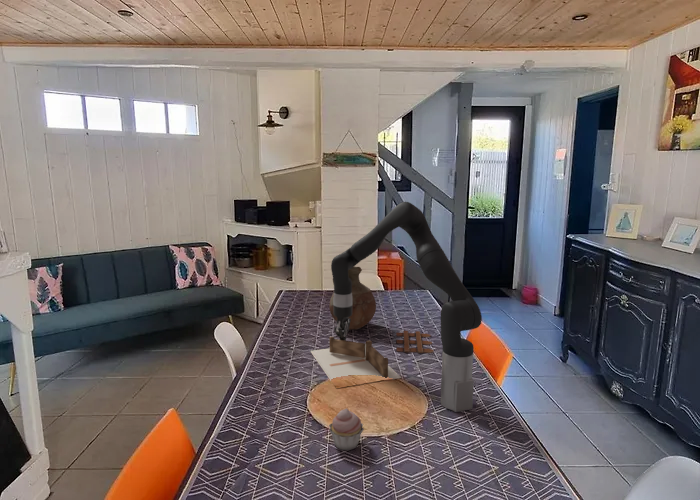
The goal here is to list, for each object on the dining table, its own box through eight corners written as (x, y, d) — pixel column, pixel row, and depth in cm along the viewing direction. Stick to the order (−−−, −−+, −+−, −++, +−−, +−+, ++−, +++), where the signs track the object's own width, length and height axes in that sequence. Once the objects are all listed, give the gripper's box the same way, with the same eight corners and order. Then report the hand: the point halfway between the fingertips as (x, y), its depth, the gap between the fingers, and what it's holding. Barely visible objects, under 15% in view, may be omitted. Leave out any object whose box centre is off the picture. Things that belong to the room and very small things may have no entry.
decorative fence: (396, 354, 180) (434, 356, 179) (396, 350, 180) (434, 351, 178) (396, 334, 203) (429, 335, 201) (396, 330, 202) (429, 331, 201)
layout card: (401, 377, 158) (401, 377, 158) (336, 388, 150) (336, 388, 150) (365, 343, 189) (365, 343, 189) (310, 351, 181) (310, 350, 181)
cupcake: (371, 442, 120) (371, 408, 118) (347, 459, 113) (347, 422, 112) (345, 429, 126) (345, 396, 125) (321, 444, 119) (321, 409, 118)
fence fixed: (389, 377, 158) (389, 357, 157) (383, 378, 157) (383, 358, 156) (370, 358, 174) (370, 340, 173) (364, 359, 174) (364, 340, 172)
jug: (383, 331, 204) (384, 267, 199) (339, 338, 196) (338, 271, 191) (364, 317, 223) (364, 258, 218) (323, 323, 216) (322, 261, 211)
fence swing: (365, 356, 174) (365, 341, 173) (363, 358, 173) (364, 343, 172) (330, 351, 180) (330, 336, 179) (328, 352, 178) (328, 337, 177)
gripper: (346, 309, 169) (345, 352, 172) (357, 299, 181) (356, 340, 185) (327, 307, 171) (327, 349, 175) (340, 297, 184) (339, 337, 187)
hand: (342, 344), depth 180 cm, fingers closed
